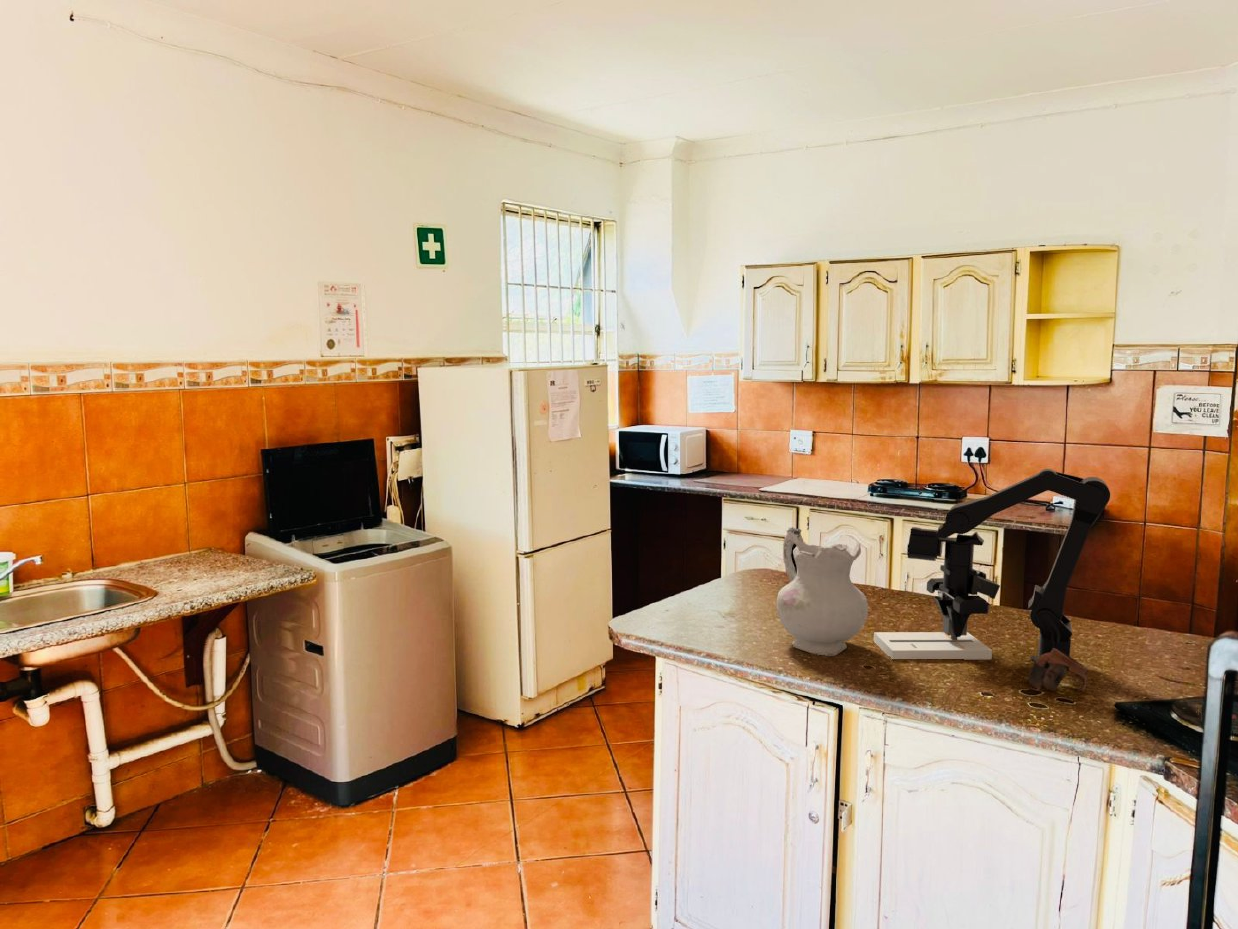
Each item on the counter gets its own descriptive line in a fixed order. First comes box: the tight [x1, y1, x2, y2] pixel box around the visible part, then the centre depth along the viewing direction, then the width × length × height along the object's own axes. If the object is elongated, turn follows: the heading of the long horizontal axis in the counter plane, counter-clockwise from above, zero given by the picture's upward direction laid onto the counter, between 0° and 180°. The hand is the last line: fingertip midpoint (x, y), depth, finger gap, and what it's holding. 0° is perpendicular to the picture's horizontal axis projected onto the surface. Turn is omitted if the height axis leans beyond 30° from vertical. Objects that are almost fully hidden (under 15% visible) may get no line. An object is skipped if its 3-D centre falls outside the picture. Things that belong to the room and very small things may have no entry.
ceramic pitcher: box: [776, 527, 869, 657], centre depth 190 cm, size 22×20×25 cm
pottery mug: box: [1027, 648, 1090, 692], centre depth 167 cm, size 12×10×8 cm
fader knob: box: [941, 615, 968, 640], centre depth 188 cm, size 3×4×5 cm
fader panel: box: [873, 631, 993, 660], centre depth 189 cm, size 12×21×2 cm, turn 92°
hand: (954, 634), depth 189 cm, fingers closed on fader knob, 3 cm apart
